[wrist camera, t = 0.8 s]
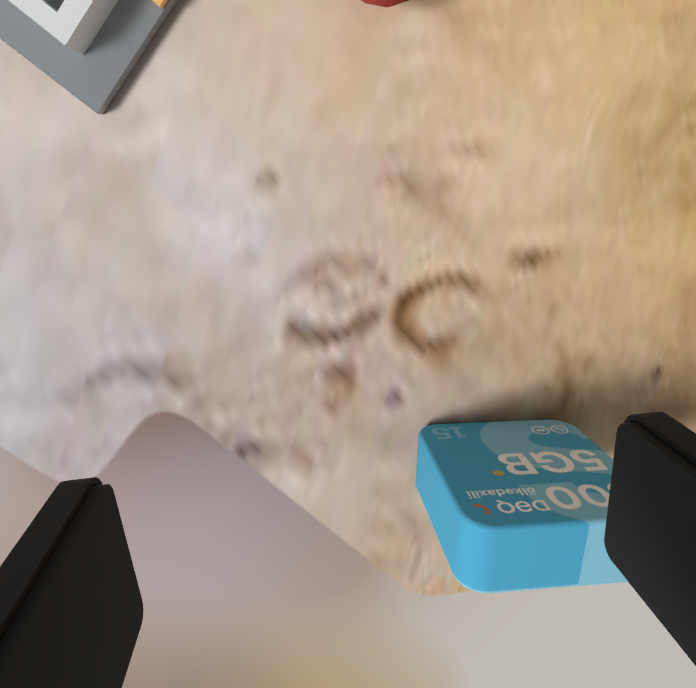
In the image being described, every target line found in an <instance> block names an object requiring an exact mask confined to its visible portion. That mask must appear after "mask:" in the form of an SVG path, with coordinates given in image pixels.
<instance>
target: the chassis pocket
mask: <svg viewBox="0 0 696 688" xmlns="http://www.w3.org/2000/svg"><path fill="white" fill-rule="evenodd" d="M177 1H178V0H0V39H2V40H3V41H4V42H6V43H7V44H8V45H9V46H11V47H12V48H13V49H15V50H16V51H17V52H18V53H20V54H21V55H22V56H24V57H25V58H26V59H28V60H29V61H30V62H31V63H33V64H34V65H35V66H37V67H38V68H39V69H40V70H42V71H43V72H44V73H46V74H47V75H48V76H50V77H51V78H52V79H53V80H55V81H56V82H57V83H59V84H60V85H61V86H62V87H64V88H65V89H66V90H68V91H69V92H70V93H72V94H73V95H74V96H75V97H77V98H78V99H79V100H81V101H82V102H83V103H84V104H86V105H87V106H88V107H90V108H91V109H92V110H93V111H95V112H96V113H99V114H102V115H103V113H104V112H105V110H106V109H107V107H108V106H109V104H110V103H111V101H112V100H113V98H114V96H115V95H116V93H117V92H118V90H119V89H120V87H121V86H122V84H123V83H124V81H125V80H126V78H127V77H128V75H129V74H130V72H131V71H132V69H133V68H134V66H135V65H136V63H137V62H138V60H139V59H140V57H141V55H142V54H143V52H144V51H145V49H146V48H147V46H148V45H149V43H150V42H151V40H152V39H153V37H154V36H155V34H156V33H157V31H158V30H159V28H160V27H161V25H162V24H163V22H164V21H165V19H166V17H167V16H168V14H169V13H170V11H171V10H172V8H173V7H174V5H175V4H176V2H177Z"/></svg>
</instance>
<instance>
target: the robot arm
mask: <svg viewBox="0 0 696 688" xmlns="http://www.w3.org/2000/svg"><path fill="white" fill-rule="evenodd" d="M604 544H605V548H606V552H607V554H608V556H609V558H610V559H611V561H612V562H613V563H614V565H615V566H616V567H617V568H618V569H619V571H620V572H621V573H622V574H623V576H624V577H625V578H626V579H627V581H628V582H629V583H630V584H631V586H632V587H633V588H634V589H635V591H636V592H637V593H638V594H639V596H640V597H641V598H642V599H643V601H644V602H645V603H646V604H647V606H648V607H649V608H650V609H651V611H652V612H653V613H654V614H655V616H656V617H657V618H658V619H659V620H660V622H661V623H662V624H663V626H664V627H665V628H666V629H667V631H668V632H669V633H670V634H671V635H672V637H673V638H674V639H675V640H676V642H677V643H678V644H679V646H680V647H681V648H682V649H683V651H684V652H685V653H686V654H687V655H688V657H689V658H690V659H691V660H692V662H693V663H694V664H695V665H696V434H695V433H694V432H692V431H691V430H690V429H688V428H687V427H685V426H684V425H682V424H681V423H679V422H678V421H676V420H675V419H673V418H672V417H670V416H669V415H667V414H665V413H663V412H652V413H643V414H635V415H630V416H628V417H627V418H626V420H625V422H624V424H621V425H619V427H618V429H617V434H616V443H615V451H614V460H613V468H612V476H611V485H610V493H609V502H608V510H607V518H606V527H605V535H604ZM142 619H143V603H142V598H141V594H140V590H139V587H138V583H137V579H136V575H135V571H134V568H133V564H132V560H131V556H130V552H129V548H128V544H127V540H126V537H125V533H124V529H123V525H122V522H121V518H120V514H119V510H118V506H117V502H116V498H115V495H114V491H113V488H112V487H111V486H110V485H109V484H106V485H102V482H101V481H100V480H99V479H98V478H96V477H94V478H86V479H77V480H69V481H63V482H61V483H60V484H59V485H58V486H57V487H56V489H55V490H54V491H53V493H52V494H51V496H50V497H49V498H48V500H47V501H46V503H45V504H44V506H43V507H42V509H41V510H40V511H39V513H38V514H37V515H36V517H35V518H34V520H33V521H32V522H31V524H30V525H29V527H28V528H27V530H26V531H25V532H24V534H23V535H22V537H21V538H20V540H19V541H18V542H17V544H16V545H15V547H14V548H13V549H12V551H11V552H10V554H9V555H8V557H7V558H6V559H5V561H4V562H3V564H2V565H1V567H0V688H122V684H123V682H124V678H125V675H126V672H127V669H128V666H129V662H130V659H131V656H132V653H133V650H134V646H135V644H136V640H137V637H138V634H139V631H140V628H141V624H142Z"/></svg>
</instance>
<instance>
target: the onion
mask: <svg viewBox="0 0 696 688" xmlns="http://www.w3.org/2000/svg"><path fill="white" fill-rule="evenodd" d="M362 1H363V2H365V3H367V4H372V5H377V6H383V7H391V6H394V5H396V4H399V3H402V2H405V1H408V0H362Z"/></svg>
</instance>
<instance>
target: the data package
mask: <svg viewBox="0 0 696 688" xmlns="http://www.w3.org/2000/svg"><path fill="white" fill-rule="evenodd" d="M612 468H613V459H612V458H610V457H609V456H608V455H607V454H606V453H605V452H604V451H603V450H601V449H600V448H599V447H598V446H597V445H596V444H595V443H594V442H592V441H591V440H590V439H589V438H588V437H587V436H586V435H585V434H583V433H582V432H581V431H580V430H579V429H578V428H577V427H575V426H574V425H572V424H570V423H567V422H564V421H560V420H553V419H545V420H521V421H498V422H475V423H452V424H433V425H429V426H426V427H424V428H423V429H422V430H421V431H420V433H419V442H418V458H417V473H416V487H417V489H418V492H419V494H420V496H421V499H422V501H423V504H424V506H425V508H426V511H427V513H428V516H429V518H430V520H431V523H432V525H433V528H434V530H435V532H436V535H437V537H438V539H439V542H440V544H441V547H442V549H443V551H444V554H445V556H446V559H447V561H448V563H449V566H450V568H451V571H452V573H453V575H454V577H455V578H456V579H457V580H458V582H460V583H461V584H462V585H463V586H465V587H466V588H468V589H470V590H473V591H476V592H480V593H497V592H510V591H522V590H534V589H546V588H557V587H570V586H583V585H594V584H607V583H619V582H628V581H627V579H626V578H625V577H624V576H623V574H622V573H621V572H620V571H619V569H618V568H617V567H616V566H615V565H614V563H613V562H612V561H611V559H610V558H609V556H608V554H607V552H606V548H605V544H604V535H605V527H606V518H607V510H608V502H609V493H610V485H611V476H612Z"/></svg>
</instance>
